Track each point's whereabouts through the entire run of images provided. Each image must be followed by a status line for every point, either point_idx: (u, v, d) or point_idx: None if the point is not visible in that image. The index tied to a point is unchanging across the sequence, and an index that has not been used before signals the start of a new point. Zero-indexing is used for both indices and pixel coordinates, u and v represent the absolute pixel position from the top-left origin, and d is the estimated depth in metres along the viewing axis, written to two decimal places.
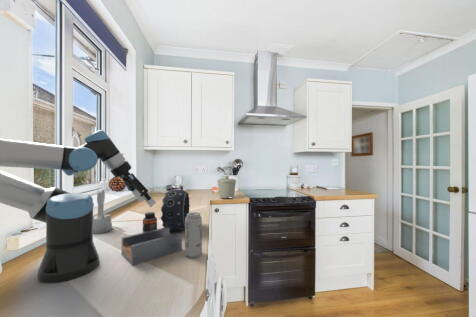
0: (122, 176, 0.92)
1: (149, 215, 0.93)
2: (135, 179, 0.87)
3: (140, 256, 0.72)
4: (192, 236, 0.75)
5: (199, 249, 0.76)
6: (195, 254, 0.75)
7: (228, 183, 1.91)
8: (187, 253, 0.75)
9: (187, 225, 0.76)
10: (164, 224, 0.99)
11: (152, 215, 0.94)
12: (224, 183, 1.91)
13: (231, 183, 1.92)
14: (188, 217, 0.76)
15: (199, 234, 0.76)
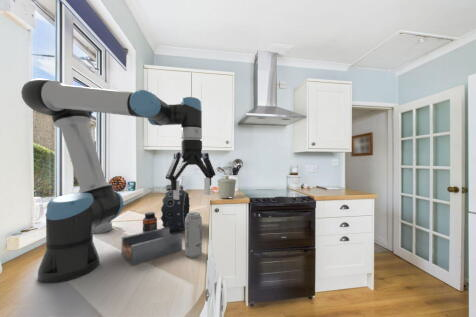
0: None
1: (149, 215, 0.93)
2: (175, 160, 0.74)
3: (140, 256, 0.72)
4: (192, 236, 0.75)
5: (199, 249, 0.76)
6: (195, 254, 0.75)
7: (228, 183, 1.91)
8: (187, 253, 0.75)
9: (187, 225, 0.76)
10: (164, 224, 0.99)
11: (152, 215, 0.94)
12: (224, 183, 1.91)
13: (231, 183, 1.92)
14: (188, 217, 0.76)
15: (199, 234, 0.76)
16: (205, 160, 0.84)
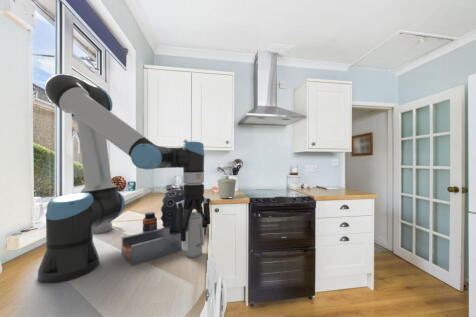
0: None
1: (149, 215, 0.93)
2: (178, 211, 0.74)
3: (140, 256, 0.72)
4: (192, 235, 0.75)
5: (199, 249, 0.76)
6: (195, 254, 0.75)
7: (228, 183, 1.91)
8: (187, 253, 0.75)
9: (188, 225, 0.76)
10: (164, 224, 0.99)
11: (152, 215, 0.94)
12: (224, 183, 1.91)
13: (231, 183, 1.92)
14: None
15: (199, 234, 0.76)
16: (204, 205, 0.82)
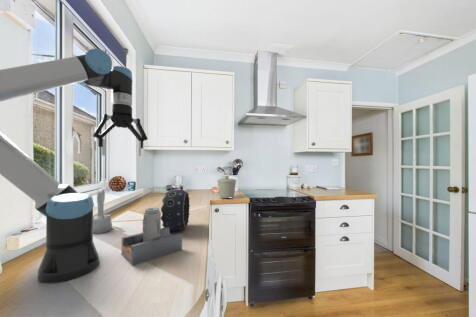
0: None
1: None
2: (102, 120, 0.84)
3: (140, 256, 0.72)
4: (149, 230, 0.78)
5: None
6: None
7: (228, 183, 1.91)
8: None
9: (145, 220, 0.78)
10: (164, 224, 0.99)
11: None
12: (224, 183, 1.91)
13: (231, 183, 1.92)
14: (146, 212, 0.79)
15: (157, 228, 0.79)
16: (137, 125, 0.94)
